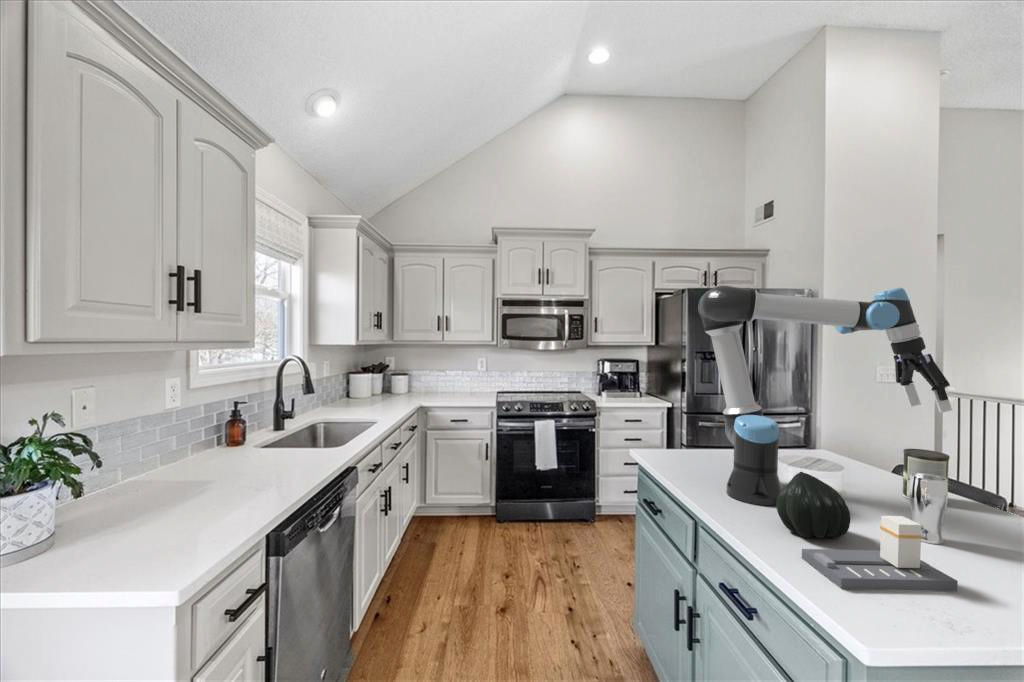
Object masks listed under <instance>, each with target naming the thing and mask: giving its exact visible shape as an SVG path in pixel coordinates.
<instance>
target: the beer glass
mask: <svg viewBox="0 0 1024 682" xmlns="http://www.w3.org/2000/svg"><path fill="white" fill-rule="evenodd" d="M948 492H949V488H948V489H947V479H946V478H943V477H940V476H937V475H932V474H926V473H911V474H910V482H909V499H908V501H909V507H910V512H911V519H912V521H914V522H916V523H918V524H920V525H921V536H922V539H921V542H922V543H926V544H932V545H942V544H943V545H944V537H943V532H942V531H943V530H942V527H943V521H944V517H945V514H946V511H947V506H948V504H947V502H948V500H949V497H948V496H949V495H948V494H949V493H948Z"/></svg>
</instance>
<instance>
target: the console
mask: <svg viewBox="0 0 1024 682" xmlns="http://www.w3.org/2000/svg"><path fill="white" fill-rule="evenodd" d="M801 559H802V560H803V561H805V562H806V563H807V564H808V565H810V566H811V567H812V568H813V569H815V570H816V571H818V572H819V573H820V574H822V575H823V576H824V577H825V578H826V579H828V580H829V581H830V582H832V583H833V584H834V585H836V586H837V587H838V588H839V589H841V590H843V589H844V590H849V589H850V590H879V591H880V590H882V591H883V590H884V591H889V590H890V591H892V590H893V591H922V592H923V591H929V592H931V591H933V592H937V591H938V592H958V582H959V581H958V580H957V579H956V578H953V577H951V576H950V575H948V574H946V573H944V572H942V571H940V570H939V569H937V568H935V567H933V566H932V565H930V564H929V563H927V562H925V561H924V560H921V559H920V568H897V567H896V566H894V565H893V564H891V563H889V562H888V561H886V560H884V559H883V558H881V557H880V550H870V549H868V550H866V549H865V550H864V549H833V548H831V549H826V548H824V549H822V548H821V549H820V548H819V549H818V548H801Z"/></svg>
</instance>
